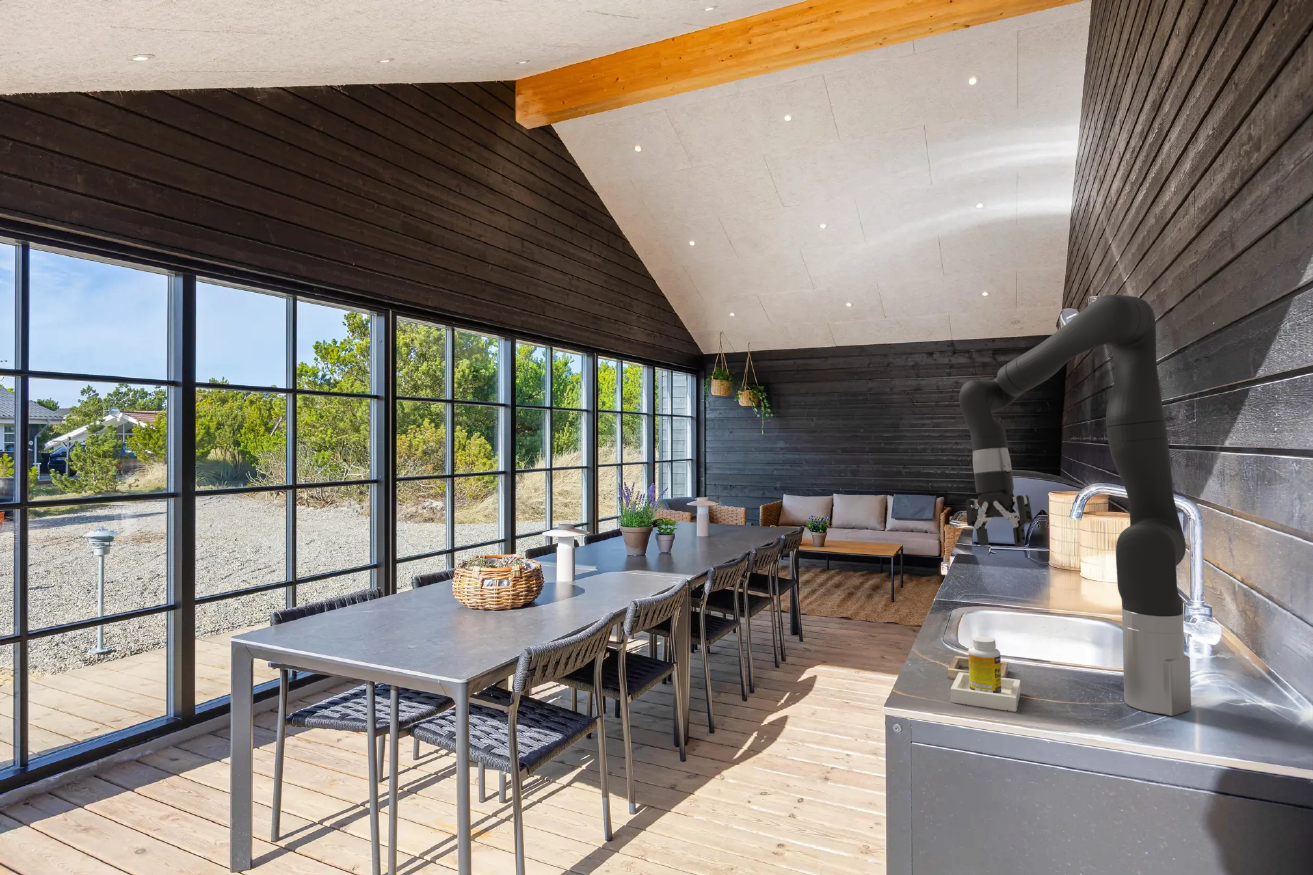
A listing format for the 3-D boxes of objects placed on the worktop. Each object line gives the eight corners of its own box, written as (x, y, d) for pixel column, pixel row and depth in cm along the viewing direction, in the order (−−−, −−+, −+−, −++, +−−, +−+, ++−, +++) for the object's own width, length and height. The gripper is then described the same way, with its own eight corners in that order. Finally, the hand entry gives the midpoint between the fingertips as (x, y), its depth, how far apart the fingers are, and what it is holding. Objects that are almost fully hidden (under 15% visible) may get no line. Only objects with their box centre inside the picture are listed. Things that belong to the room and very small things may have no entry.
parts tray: (1020, 692, 142) (1020, 679, 142) (1016, 711, 132) (1015, 697, 132) (959, 684, 147) (959, 671, 147) (950, 702, 138) (950, 688, 138)
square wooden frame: (1008, 670, 155) (1007, 662, 155) (1003, 685, 146) (1003, 676, 146) (955, 664, 160) (955, 655, 160) (947, 678, 151) (947, 669, 151)
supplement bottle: (999, 699, 136) (998, 644, 136) (967, 695, 139) (965, 640, 139) (1003, 690, 141) (1001, 636, 141) (971, 686, 144) (970, 633, 144)
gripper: (953, 474, 165) (962, 547, 163) (1011, 467, 153) (1021, 546, 151) (975, 473, 169) (984, 544, 167) (1033, 466, 156) (1043, 543, 154)
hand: (1001, 545), depth 159 cm, fingers open, 8 cm apart
